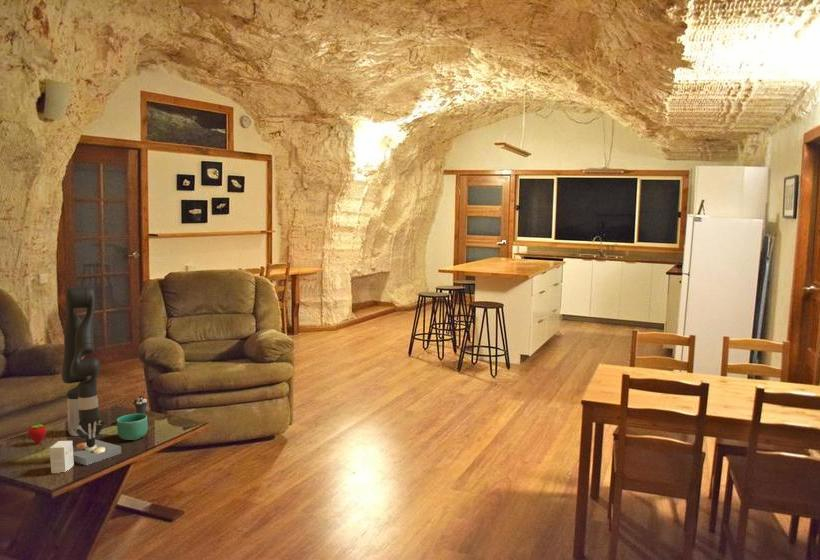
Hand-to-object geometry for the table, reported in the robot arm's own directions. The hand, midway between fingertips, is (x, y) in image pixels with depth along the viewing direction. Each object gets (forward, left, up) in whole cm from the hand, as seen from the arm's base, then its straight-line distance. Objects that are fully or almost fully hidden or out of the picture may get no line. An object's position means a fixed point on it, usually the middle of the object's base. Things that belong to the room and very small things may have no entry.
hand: (90, 446), depth 274 cm
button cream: (+5, 0, -3) cm, 6 cm away
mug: (-5, +25, -4) cm, 25 cm away
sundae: (-20, +40, -4) cm, 44 cm away
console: (0, 0, -4) cm, 4 cm away
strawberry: (-35, -2, -4) cm, 35 cm away
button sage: (0, 0, -3) cm, 4 cm away
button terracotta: (-6, 0, -3) cm, 7 cm away
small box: (+4, -15, -4) cm, 16 cm away
